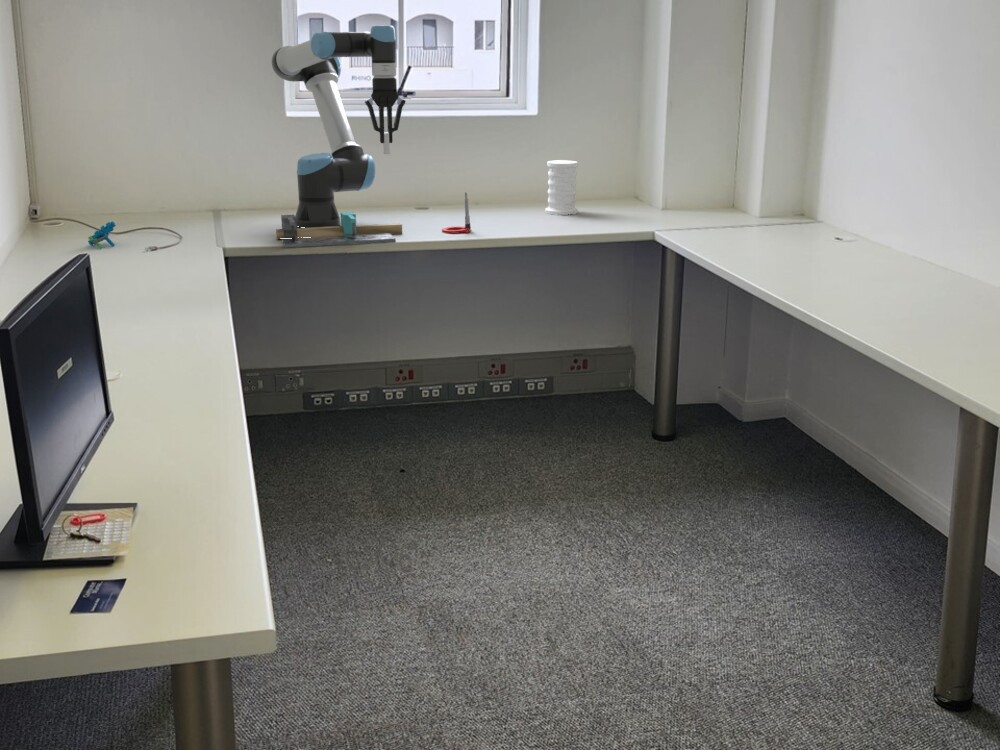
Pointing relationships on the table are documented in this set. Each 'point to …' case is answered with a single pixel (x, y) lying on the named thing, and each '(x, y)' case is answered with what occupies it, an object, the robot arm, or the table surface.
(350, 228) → the sliding jaw
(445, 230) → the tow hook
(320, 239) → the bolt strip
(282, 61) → the robot arm
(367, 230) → the gauge rail
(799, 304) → the table surface
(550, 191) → the decorative container
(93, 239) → the blue blocky piece
